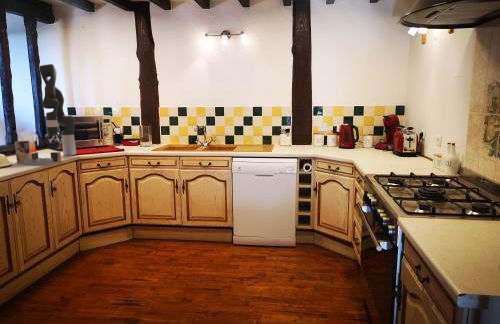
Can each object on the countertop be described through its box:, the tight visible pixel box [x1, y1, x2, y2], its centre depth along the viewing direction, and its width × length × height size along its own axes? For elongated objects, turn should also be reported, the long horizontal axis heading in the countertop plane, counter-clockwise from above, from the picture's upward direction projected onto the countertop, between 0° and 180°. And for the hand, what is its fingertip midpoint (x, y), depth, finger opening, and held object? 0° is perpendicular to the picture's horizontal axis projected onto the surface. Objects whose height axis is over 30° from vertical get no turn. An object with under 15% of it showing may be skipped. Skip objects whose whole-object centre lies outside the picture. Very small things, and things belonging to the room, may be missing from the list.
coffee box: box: [14, 140, 32, 164], centre depth 275 cm, size 9×6×16 cm
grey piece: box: [22, 151, 56, 166], centre depth 271 cm, size 11×17×8 cm, turn 79°
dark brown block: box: [50, 151, 62, 163], centre depth 282 cm, size 4×6×7 cm, turn 79°
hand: (53, 147), depth 280 cm, fingers open, 8 cm apart
